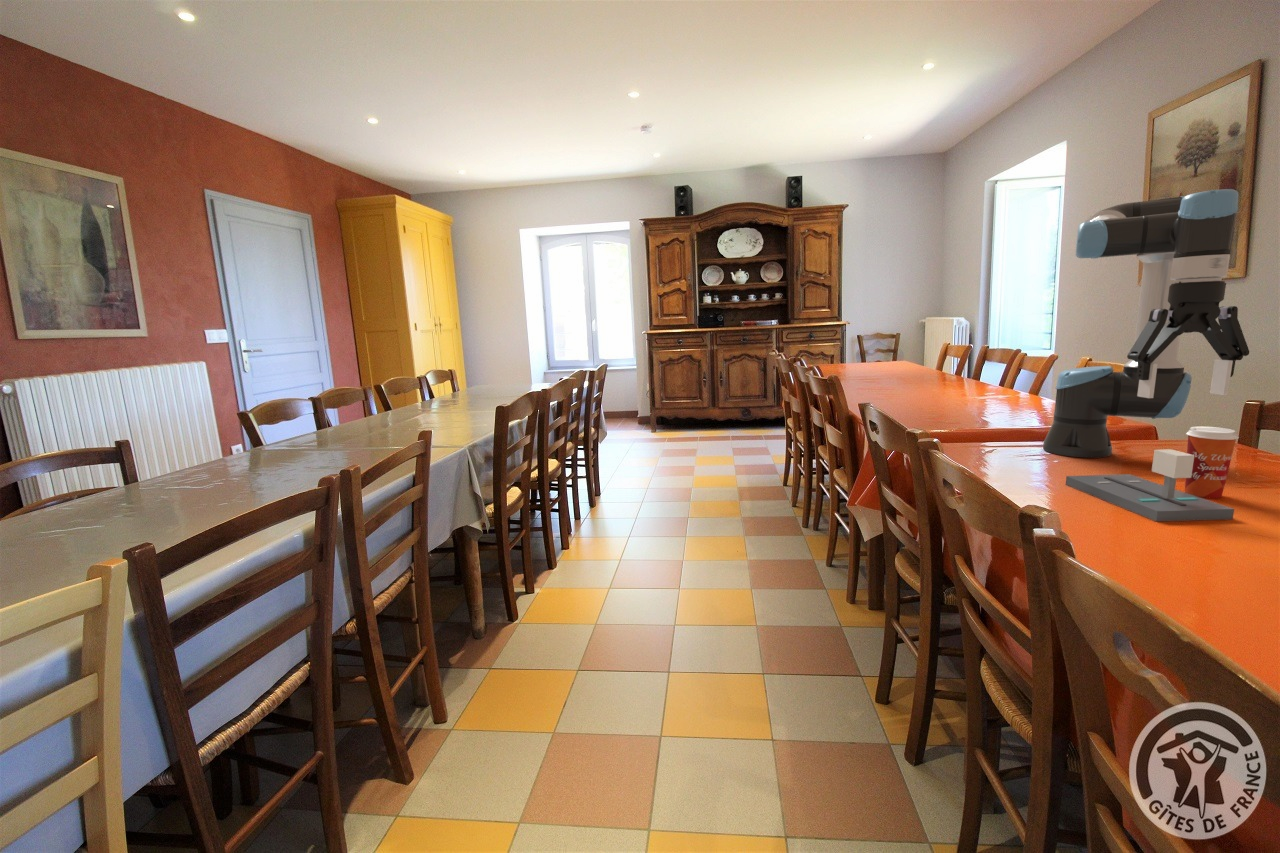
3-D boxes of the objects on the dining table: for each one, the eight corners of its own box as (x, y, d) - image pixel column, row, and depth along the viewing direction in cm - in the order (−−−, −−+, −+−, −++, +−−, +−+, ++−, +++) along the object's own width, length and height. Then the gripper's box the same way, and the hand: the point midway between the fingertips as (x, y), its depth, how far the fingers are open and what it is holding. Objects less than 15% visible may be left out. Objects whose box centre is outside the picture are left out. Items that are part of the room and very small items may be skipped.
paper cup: (1185, 497, 120) (1194, 431, 117) (1172, 487, 126) (1181, 425, 124) (1236, 502, 116) (1247, 434, 113) (1220, 491, 123) (1231, 426, 120)
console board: (1065, 484, 131) (1066, 475, 131) (1128, 482, 131) (1129, 473, 130) (1156, 521, 108) (1157, 510, 107) (1232, 519, 107) (1234, 507, 107)
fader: (1148, 493, 115) (1154, 449, 114) (1164, 493, 115) (1170, 449, 114) (1170, 501, 110) (1177, 455, 109) (1187, 501, 110) (1194, 455, 109)
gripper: (1145, 282, 102) (1130, 401, 106) (1290, 276, 101) (1270, 396, 105) (1111, 284, 109) (1099, 395, 113) (1246, 279, 108) (1229, 390, 112)
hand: (1181, 396), depth 109 cm, fingers open, 13 cm apart
